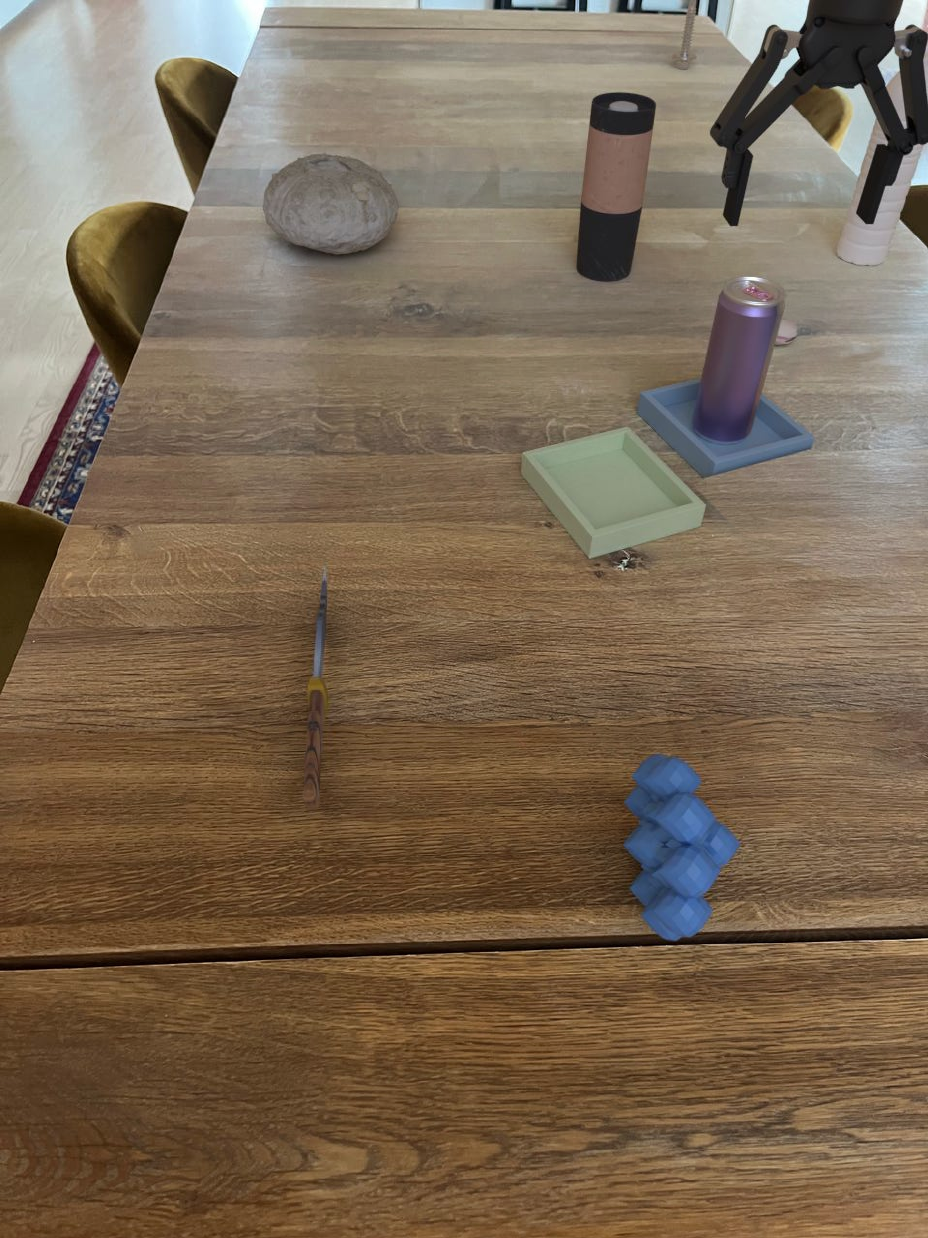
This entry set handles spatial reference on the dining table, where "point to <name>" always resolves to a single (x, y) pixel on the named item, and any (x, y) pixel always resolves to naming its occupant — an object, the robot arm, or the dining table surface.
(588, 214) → the travel mug
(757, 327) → the beverage can
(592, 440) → the snack tray
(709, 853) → the grapes
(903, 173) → the water bottle
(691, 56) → the screw
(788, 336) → the macaroon
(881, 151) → the robot arm
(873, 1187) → the dining table surface
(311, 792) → the knife
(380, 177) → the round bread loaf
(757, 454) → the tray
